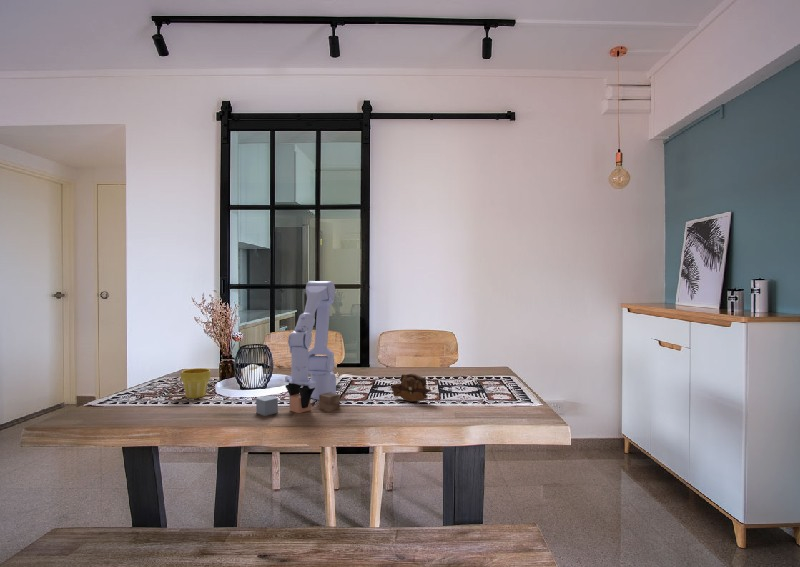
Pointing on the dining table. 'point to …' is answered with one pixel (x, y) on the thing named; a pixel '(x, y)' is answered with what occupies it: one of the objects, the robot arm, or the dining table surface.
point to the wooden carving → (411, 388)
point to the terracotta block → (297, 404)
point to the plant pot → (195, 382)
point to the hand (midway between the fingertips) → (300, 406)
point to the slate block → (266, 405)
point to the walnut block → (329, 401)
